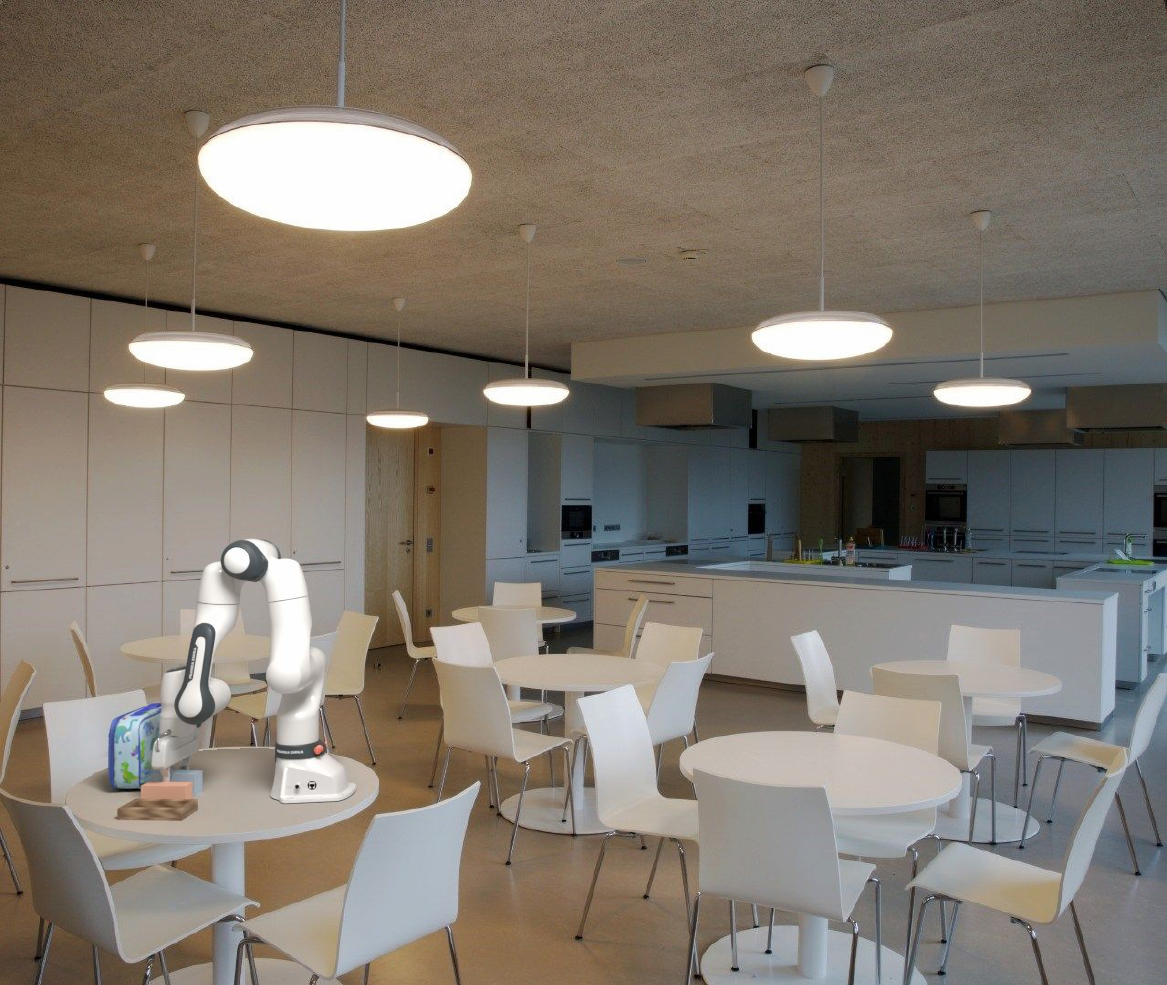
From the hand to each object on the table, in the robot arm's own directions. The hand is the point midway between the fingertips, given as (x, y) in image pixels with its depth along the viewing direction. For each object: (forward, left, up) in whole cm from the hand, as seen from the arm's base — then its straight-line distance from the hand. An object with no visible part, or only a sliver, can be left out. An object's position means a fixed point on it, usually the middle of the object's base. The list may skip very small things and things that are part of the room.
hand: (175, 777), depth 254 cm
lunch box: (+15, -11, -5) cm, 19 cm away
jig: (-5, +18, -4) cm, 19 cm away
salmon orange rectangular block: (-2, +8, -5) cm, 9 cm away
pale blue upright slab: (-1, 0, -4) cm, 4 cm away
